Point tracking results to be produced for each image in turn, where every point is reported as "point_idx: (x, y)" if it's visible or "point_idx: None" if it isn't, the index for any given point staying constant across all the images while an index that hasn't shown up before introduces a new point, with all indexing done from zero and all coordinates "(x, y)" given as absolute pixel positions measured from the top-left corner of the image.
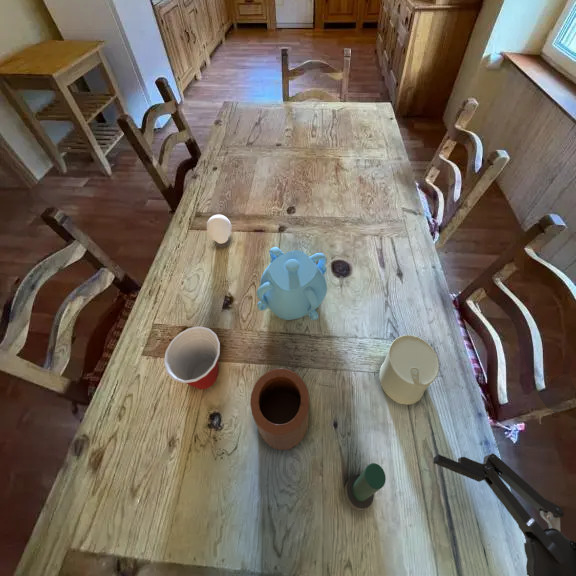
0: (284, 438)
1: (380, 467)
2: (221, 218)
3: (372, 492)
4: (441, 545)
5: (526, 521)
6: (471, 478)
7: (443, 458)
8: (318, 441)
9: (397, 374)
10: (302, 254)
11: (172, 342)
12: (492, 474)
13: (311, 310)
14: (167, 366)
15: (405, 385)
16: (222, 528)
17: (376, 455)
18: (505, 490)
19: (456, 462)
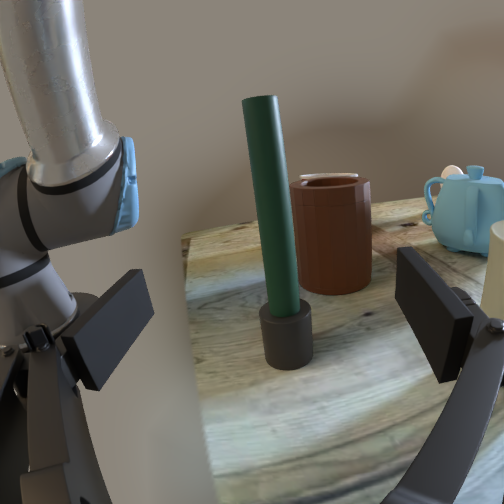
0: (296, 211)
1: (273, 95)
2: (456, 167)
3: (249, 151)
4: (257, 486)
5: (408, 490)
6: (431, 364)
7: (411, 253)
8: (332, 306)
9: (490, 229)
10: (498, 179)
11: (328, 173)
12: (493, 334)
13: (465, 217)
14: (308, 175)
15: (493, 260)
16: (213, 276)
17: (362, 365)
18: (481, 379)
19: (428, 268)
